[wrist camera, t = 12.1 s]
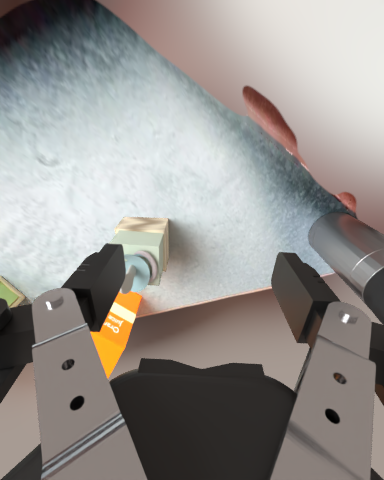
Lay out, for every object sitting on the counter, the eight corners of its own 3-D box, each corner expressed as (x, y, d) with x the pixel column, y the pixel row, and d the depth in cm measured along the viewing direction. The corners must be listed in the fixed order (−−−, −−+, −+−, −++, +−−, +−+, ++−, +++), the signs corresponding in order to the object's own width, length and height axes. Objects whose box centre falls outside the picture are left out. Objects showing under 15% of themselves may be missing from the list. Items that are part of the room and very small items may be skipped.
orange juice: (111, 277, 52) (66, 355, 34) (142, 296, 55) (115, 378, 37) (95, 296, 55) (46, 377, 37) (125, 313, 58) (93, 397, 40)
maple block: (168, 217, 45) (164, 230, 40) (169, 255, 49) (165, 271, 44) (124, 216, 45) (114, 228, 40) (129, 254, 49) (120, 269, 44)
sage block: (163, 233, 40) (158, 246, 36) (163, 269, 44) (159, 285, 39) (119, 230, 40) (109, 243, 36) (122, 266, 44) (114, 282, 39)
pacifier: (153, 245, 36) (117, 248, 36) (146, 267, 30) (103, 271, 30) (161, 281, 39) (127, 284, 39) (156, 307, 34) (117, 310, 34)
